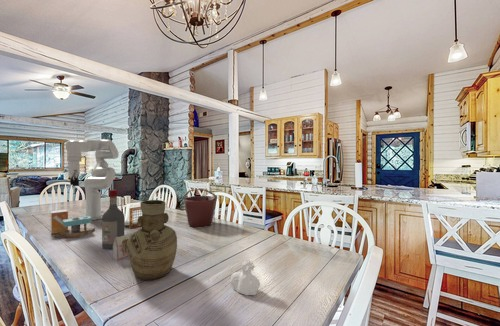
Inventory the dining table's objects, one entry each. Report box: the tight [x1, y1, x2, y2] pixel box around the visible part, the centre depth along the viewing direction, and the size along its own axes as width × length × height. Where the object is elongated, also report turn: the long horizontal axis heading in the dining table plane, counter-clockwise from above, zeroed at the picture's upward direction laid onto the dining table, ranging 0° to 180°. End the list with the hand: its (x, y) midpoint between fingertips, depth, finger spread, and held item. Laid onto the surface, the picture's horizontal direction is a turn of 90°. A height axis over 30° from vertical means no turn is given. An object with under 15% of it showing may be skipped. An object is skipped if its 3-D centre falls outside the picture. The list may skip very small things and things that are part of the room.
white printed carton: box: [112, 234, 131, 261], centre depth 112 cm, size 4×7×10 cm, turn 147°
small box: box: [50, 209, 69, 235], centre depth 147 cm, size 8×6×13 cm
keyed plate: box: [63, 216, 92, 228], centre depth 144 cm, size 14×6×3 cm, turn 134°
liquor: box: [101, 189, 125, 250], centre depth 125 cm, size 9×9×30 cm
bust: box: [230, 259, 261, 296], centre depth 86 cm, size 12×8×11 cm
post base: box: [54, 216, 96, 239], centre depth 143 cm, size 14×14×10 cm
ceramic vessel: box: [122, 199, 178, 281], centre depth 97 cm, size 19×21×30 cm
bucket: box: [182, 188, 218, 228], centre depth 167 cm, size 24×22×25 cm
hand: (74, 185), depth 154 cm, fingers open, 9 cm apart
